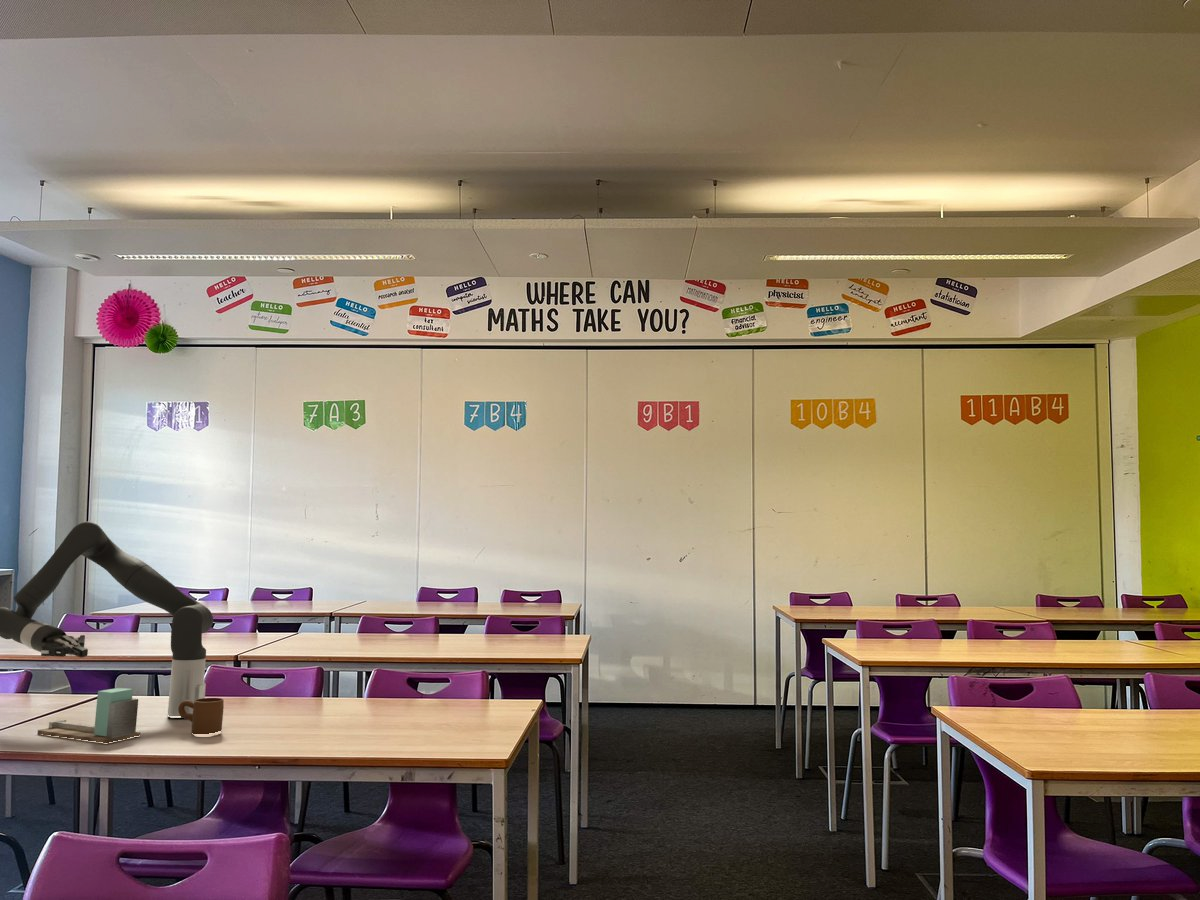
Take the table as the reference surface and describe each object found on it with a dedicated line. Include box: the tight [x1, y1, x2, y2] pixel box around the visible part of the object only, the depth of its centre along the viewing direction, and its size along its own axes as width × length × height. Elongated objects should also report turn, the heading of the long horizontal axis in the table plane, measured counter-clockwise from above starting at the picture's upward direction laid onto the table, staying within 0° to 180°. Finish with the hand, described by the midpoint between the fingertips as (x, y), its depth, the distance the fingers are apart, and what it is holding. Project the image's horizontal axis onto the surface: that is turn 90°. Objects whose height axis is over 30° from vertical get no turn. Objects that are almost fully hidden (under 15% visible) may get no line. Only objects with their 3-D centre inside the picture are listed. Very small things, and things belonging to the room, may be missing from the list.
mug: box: [178, 697, 225, 734], centre depth 228 cm, size 12×8×9 cm, turn 90°
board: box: [37, 727, 141, 743], centre depth 223 cm, size 26×10×1 cm, turn 69°
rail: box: [48, 698, 139, 739], centre depth 224 cm, size 26×7×9 cm, turn 69°
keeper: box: [94, 687, 134, 736], centre depth 221 cm, size 5×6×11 cm
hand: (85, 653), depth 230 cm, fingers closed
